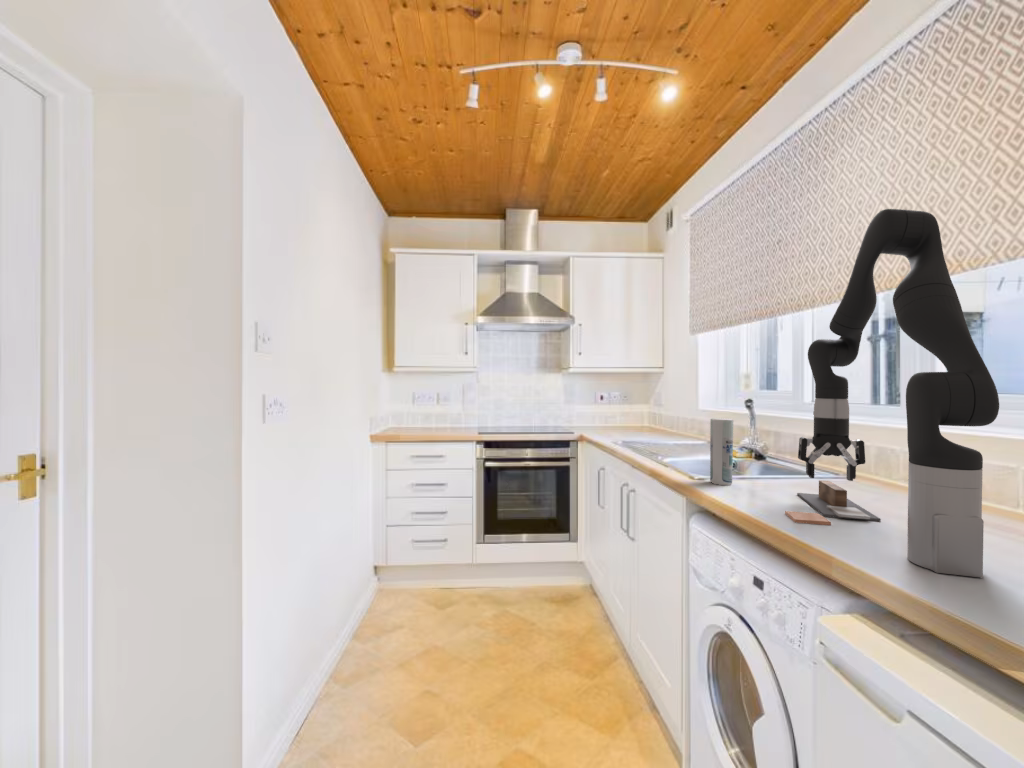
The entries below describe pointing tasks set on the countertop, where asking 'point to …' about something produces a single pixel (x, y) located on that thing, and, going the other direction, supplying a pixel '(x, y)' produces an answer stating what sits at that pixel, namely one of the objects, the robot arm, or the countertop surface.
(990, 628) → the countertop surface
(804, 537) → the countertop surface
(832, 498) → the turner
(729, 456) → the spray can
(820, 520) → the tile
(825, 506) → the mat
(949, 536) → the robot arm
